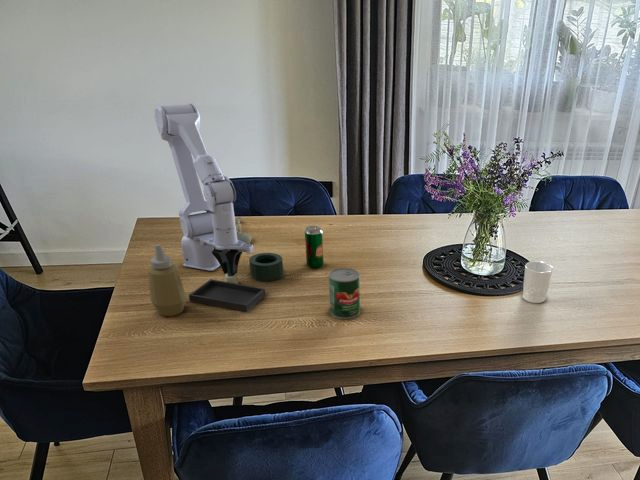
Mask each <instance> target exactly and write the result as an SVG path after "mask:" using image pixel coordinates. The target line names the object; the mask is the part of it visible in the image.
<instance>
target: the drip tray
mask: <svg viewBox="0 0 640 480" xmlns="http://www.w3.org/2000/svg"><path fill="white" fill-rule="evenodd" d="M266 293H267V292H266V288H263V287H257V286H251V285H246V284H240V283H238V284H235V283H230V282H226V281H223V280H217V279H212V278H210V279H209V280H207V281H206V282H205V283H203V284H202V285H200V286H199V287H197V288H196V289H195V290H193V291H192V292H191V293H189V294H188V297H189V298H188V299H189V302H190V303H194V304H195V303H197V304H202V305H207V306H213V307H217V308H223V309H229V310H234V311H240V312H246V313H248V312H249V311H250V310H251V309H253V307H254V306H256V305H257V304H258V303H259V302H260V301H261V300H262V299H264V298H265V297H266V296H267V295H266Z"/></svg>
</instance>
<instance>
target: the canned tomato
mask: <svg viewBox="0 0 640 480" xmlns="http://www.w3.org/2000/svg"><path fill="white" fill-rule="evenodd" d="M360 275H361V274H360V272H359V271H358V270H356V269H354V268H349V267H339V268H335V269H332V270H331V271H329V273H328V288H329V289H328V290H329V291H328V293H329V314H330V315H331V316H332V317H334V318H335V319H339V320H350V319H353V318H356V317H358V316H359V315H360V313H361V302H360V301H361V298H360V297H361V293H360V292H361V291H360V290H361V289H360V287H361V286H360V285H361V283H360V282H361V280H360V279H361V277H360Z"/></svg>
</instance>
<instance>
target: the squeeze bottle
mask: <svg viewBox="0 0 640 480" xmlns="http://www.w3.org/2000/svg"><path fill="white" fill-rule="evenodd" d="M149 262H150V266H149V268H148V270H147V275H148V287H149V296H150V297H149V299H150V302H151V303H152V305H153V306H154V309H156V311H157V313H158V314H159V315H161V316H163V317H164V316H165V317H172V316H177V315H179V314H181V313H182V312H184V308H185V303H186V298H187V295H186V292H185V289H184V285H183V282H182V279H181V276H180V272H179V269H178V267H177V266H176V265H175V264H173V261H172V258H171V256H169V255H166V254H165V251H164V249H163V246H162V245H161V244H160V243H157V244H155V245H154V256H153V257H151V258H150V260H149Z"/></svg>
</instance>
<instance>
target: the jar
mask: <svg viewBox="0 0 640 480" xmlns="http://www.w3.org/2000/svg"><path fill="white" fill-rule="evenodd" d="M248 263H249V273H250V277H251V278H252V279H253V280H255V281H258V282H267V283H268V282H274V281H275V282H276V281H278V280H280V279H281V278H283V276H284V261H283V257H282V256H281V255H280V254H277V253H274V252H260V253H256V254H252V256H250V257H249V259H248Z"/></svg>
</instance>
